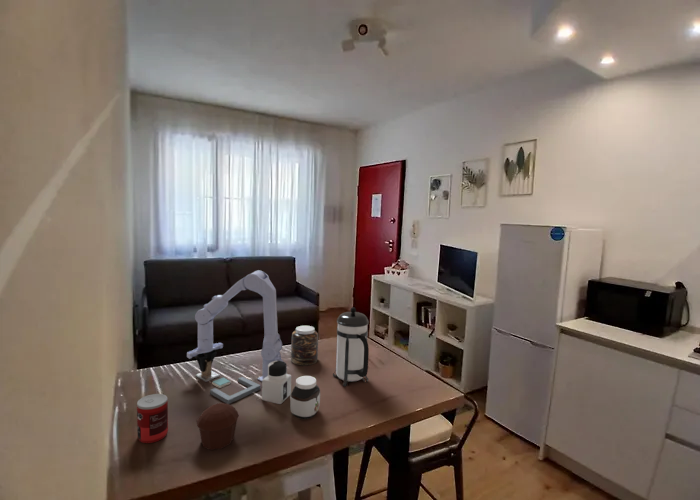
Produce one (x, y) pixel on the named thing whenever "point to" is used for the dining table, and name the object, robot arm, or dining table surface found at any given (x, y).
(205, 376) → the trowel
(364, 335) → the coffee press
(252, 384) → the tile frame
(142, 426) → the canned food
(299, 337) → the jar
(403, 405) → the dining table surface
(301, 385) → the spread jar
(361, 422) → the dining table surface
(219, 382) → the tile
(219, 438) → the muffin
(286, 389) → the container
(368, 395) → the dining table surface
